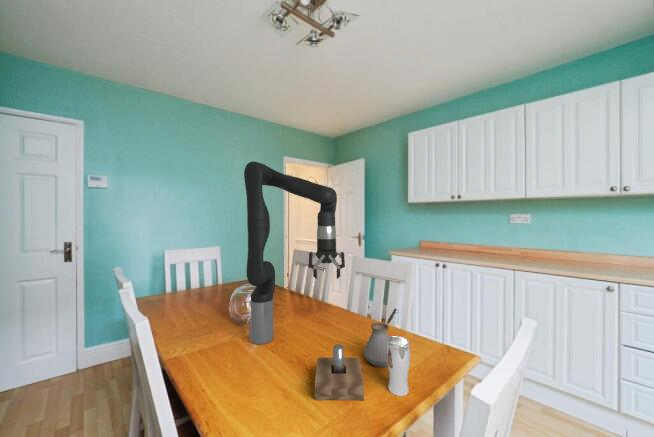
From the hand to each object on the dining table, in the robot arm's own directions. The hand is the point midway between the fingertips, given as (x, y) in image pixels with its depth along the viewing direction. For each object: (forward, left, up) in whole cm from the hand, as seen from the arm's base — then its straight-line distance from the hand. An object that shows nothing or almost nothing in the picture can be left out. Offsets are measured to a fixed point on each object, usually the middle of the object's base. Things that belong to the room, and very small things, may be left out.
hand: (326, 278), depth 108 cm
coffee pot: (+22, -5, -28) cm, 36 cm away
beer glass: (+22, -25, -28) cm, 44 cm away
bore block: (+4, -23, -28) cm, 37 cm away
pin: (+4, -23, -27) cm, 36 cm away
